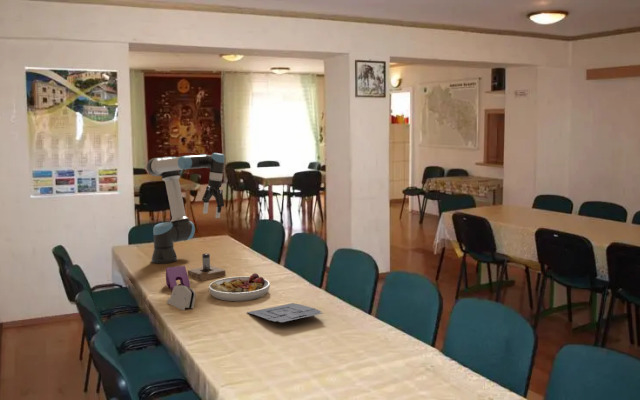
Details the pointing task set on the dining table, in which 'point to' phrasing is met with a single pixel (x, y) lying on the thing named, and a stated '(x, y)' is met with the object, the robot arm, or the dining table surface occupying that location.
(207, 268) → the grey and black cylinder
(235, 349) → the dining table surface
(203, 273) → the socket block
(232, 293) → the bowl
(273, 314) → the grey flat panel
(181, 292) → the napkin holder
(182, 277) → the mounting bracket
